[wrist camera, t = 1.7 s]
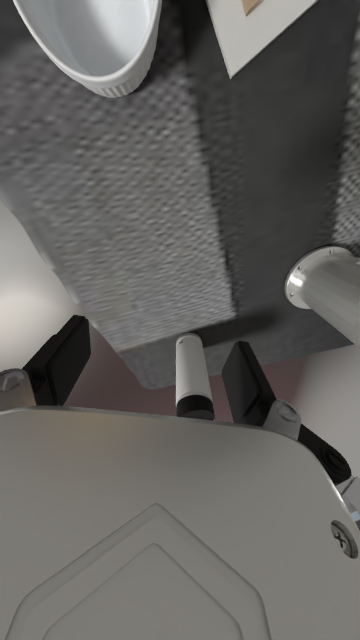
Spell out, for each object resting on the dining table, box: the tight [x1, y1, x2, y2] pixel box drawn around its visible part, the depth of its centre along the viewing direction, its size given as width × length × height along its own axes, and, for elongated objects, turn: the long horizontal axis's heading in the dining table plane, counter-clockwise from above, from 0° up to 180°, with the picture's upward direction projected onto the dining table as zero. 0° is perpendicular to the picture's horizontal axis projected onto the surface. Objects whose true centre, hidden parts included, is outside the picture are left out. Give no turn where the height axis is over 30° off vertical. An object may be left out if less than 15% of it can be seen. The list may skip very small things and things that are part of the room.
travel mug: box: [176, 333, 215, 421], centre depth 37 cm, size 6×7×20 cm
